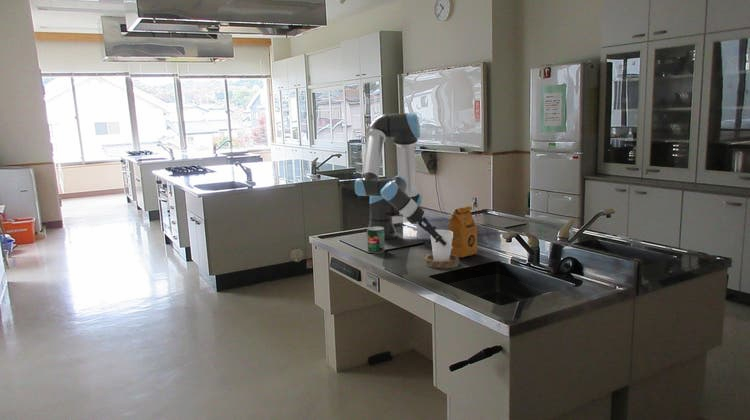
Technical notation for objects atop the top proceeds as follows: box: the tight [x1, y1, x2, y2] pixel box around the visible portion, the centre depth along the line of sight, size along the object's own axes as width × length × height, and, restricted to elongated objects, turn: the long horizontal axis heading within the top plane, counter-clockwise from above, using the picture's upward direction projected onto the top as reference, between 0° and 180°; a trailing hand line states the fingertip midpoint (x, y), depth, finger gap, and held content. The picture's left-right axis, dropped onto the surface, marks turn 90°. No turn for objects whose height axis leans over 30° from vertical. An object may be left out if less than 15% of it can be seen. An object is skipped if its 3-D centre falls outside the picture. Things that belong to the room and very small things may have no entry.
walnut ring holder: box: [424, 253, 460, 270], centre depth 228 cm, size 14×14×3 cm
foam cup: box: [429, 229, 453, 262], centre depth 227 cm, size 10×9×13 cm
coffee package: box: [448, 205, 478, 258], centre depth 239 cm, size 10×12×22 cm
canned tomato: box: [366, 226, 385, 254], centre depth 250 cm, size 8×8×11 cm
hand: (447, 245), depth 227 cm, fingers open, 13 cm apart
